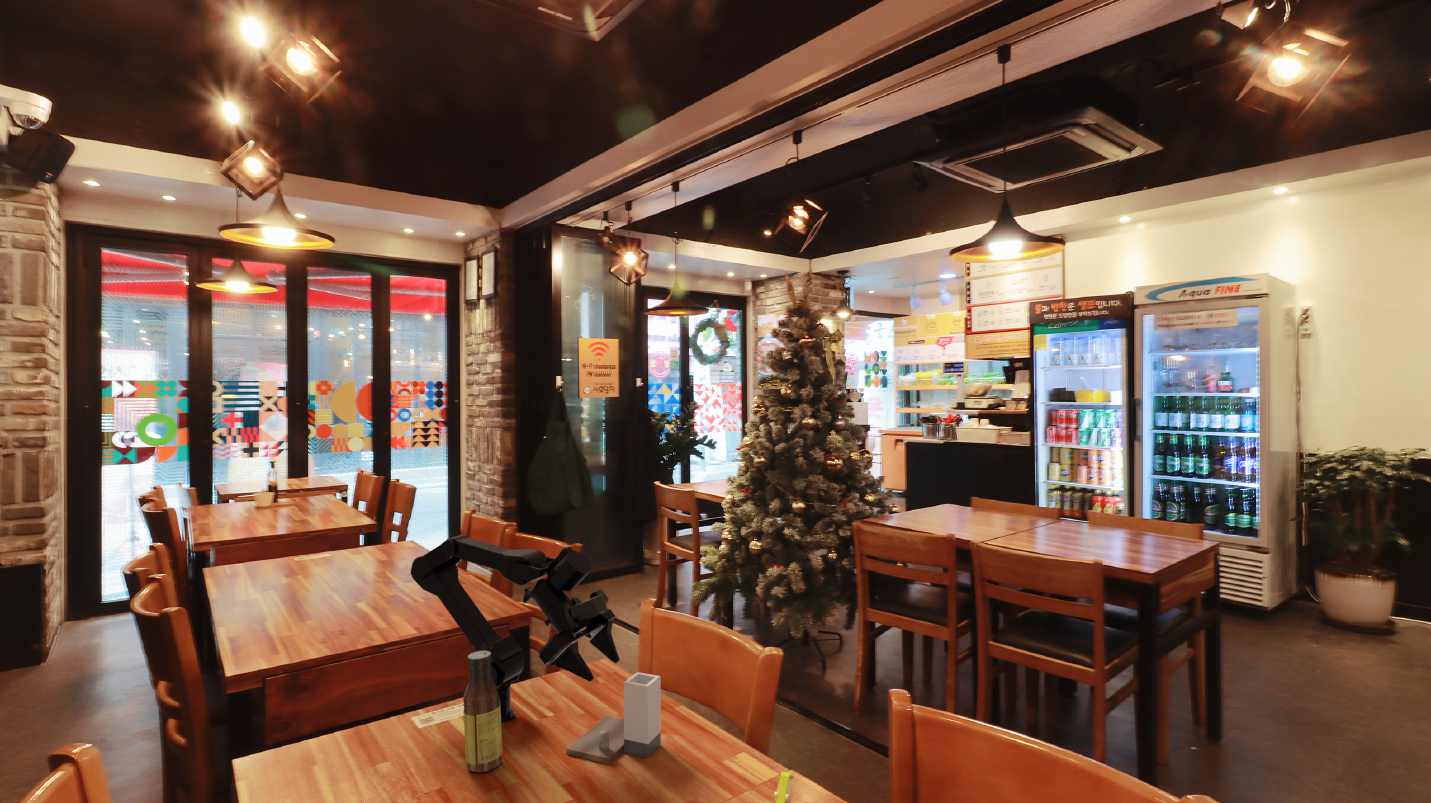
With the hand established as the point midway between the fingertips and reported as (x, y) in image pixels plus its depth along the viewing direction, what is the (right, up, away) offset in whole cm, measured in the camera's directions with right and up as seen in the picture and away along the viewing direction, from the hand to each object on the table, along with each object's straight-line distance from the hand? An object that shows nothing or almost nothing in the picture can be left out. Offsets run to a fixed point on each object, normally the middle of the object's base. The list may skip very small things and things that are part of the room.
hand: (605, 670), depth 131 cm
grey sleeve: (+7, -13, -3) cm, 16 cm away
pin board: (+1, -13, 0) cm, 13 cm away
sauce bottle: (-20, -14, -8) cm, 26 cm away
